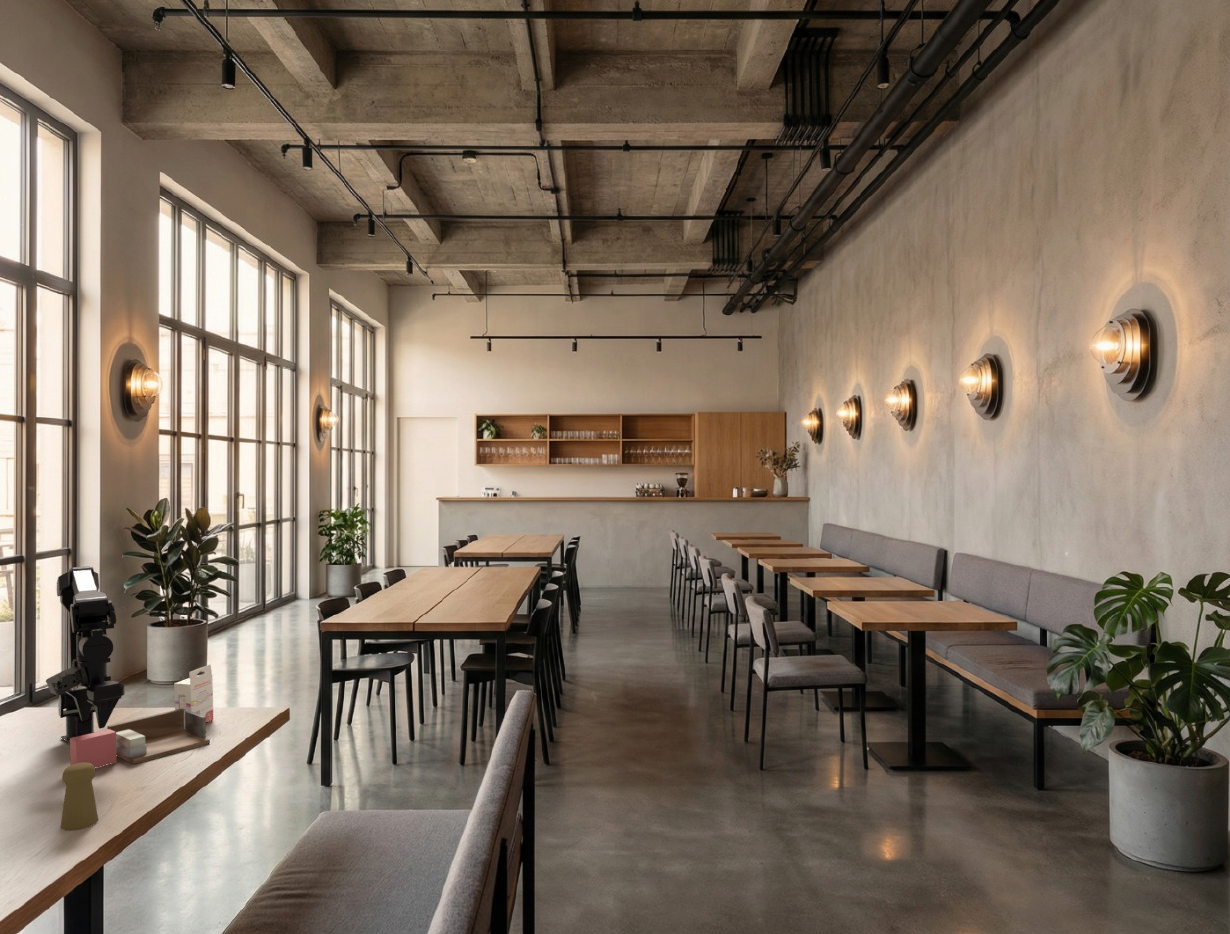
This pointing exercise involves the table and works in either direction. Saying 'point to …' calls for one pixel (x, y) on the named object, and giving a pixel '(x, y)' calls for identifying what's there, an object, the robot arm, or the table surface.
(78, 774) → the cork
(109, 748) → the tall dusty pink block
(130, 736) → the shelf
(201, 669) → the ink cartridge box
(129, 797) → the table surface
